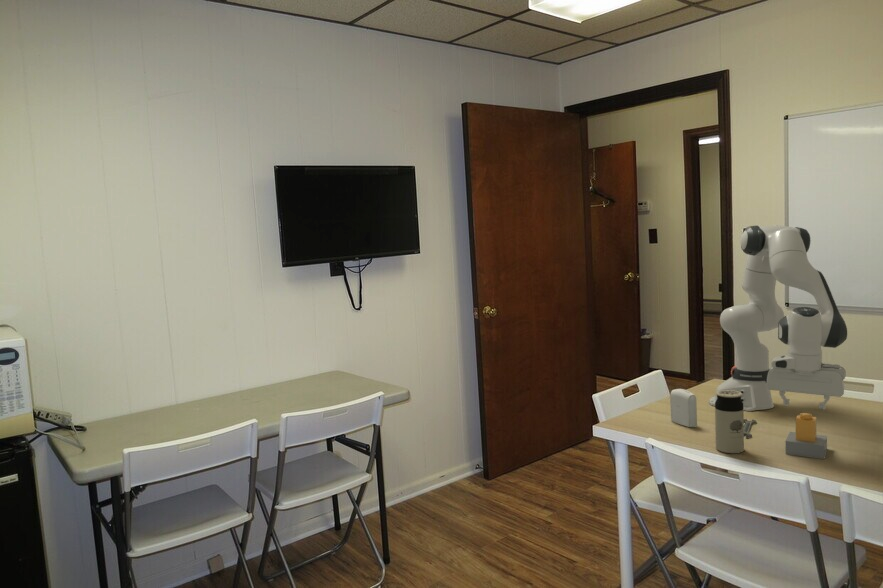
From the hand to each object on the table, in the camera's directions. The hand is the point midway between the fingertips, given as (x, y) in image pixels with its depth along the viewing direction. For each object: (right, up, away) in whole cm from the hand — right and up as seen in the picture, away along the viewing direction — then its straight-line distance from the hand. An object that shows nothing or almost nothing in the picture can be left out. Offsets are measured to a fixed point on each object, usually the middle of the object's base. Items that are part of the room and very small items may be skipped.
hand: (804, 407), depth 192 cm
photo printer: (-23, -12, +34) cm, 43 cm away
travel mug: (-20, -14, +6) cm, 25 cm away
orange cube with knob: (+1, -10, 0) cm, 10 cm away
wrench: (-6, -12, +24) cm, 28 cm away
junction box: (+1, -14, +1) cm, 14 cm away
